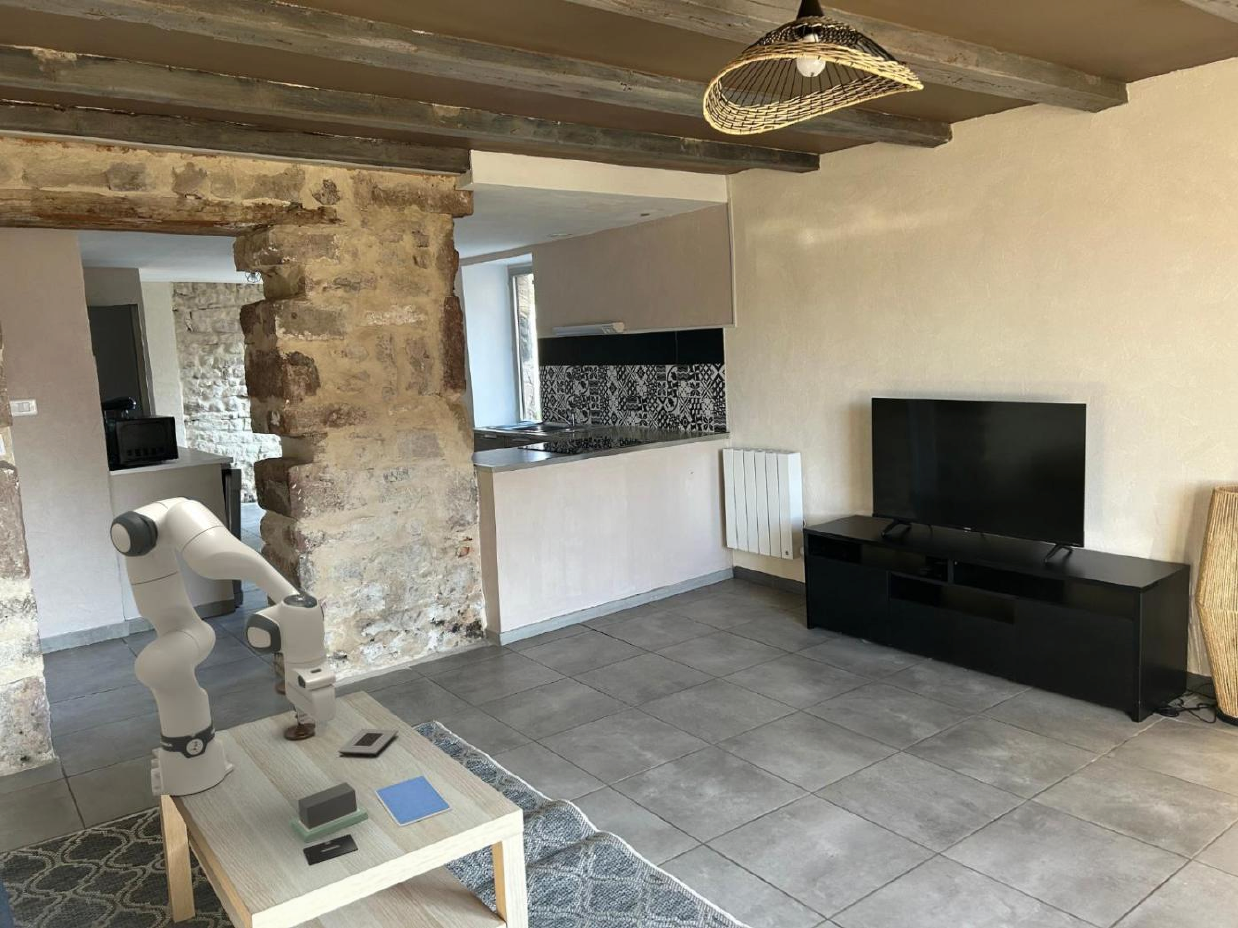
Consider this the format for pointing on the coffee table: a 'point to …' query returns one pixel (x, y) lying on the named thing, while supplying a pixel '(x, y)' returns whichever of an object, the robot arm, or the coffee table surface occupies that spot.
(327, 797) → the block
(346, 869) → the coffee table surface
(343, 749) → the grey flat piece
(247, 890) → the coffee table surface
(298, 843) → the coffee table surface
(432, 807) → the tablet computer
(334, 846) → the solid state drive
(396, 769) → the coffee table surface
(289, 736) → the candlestick
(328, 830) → the header board
